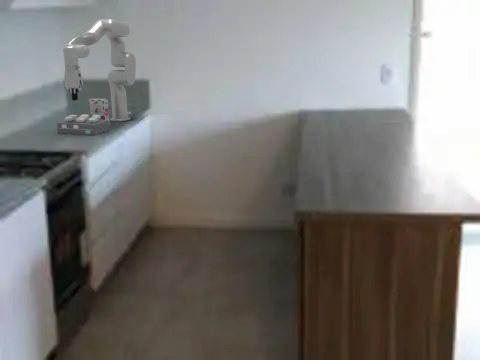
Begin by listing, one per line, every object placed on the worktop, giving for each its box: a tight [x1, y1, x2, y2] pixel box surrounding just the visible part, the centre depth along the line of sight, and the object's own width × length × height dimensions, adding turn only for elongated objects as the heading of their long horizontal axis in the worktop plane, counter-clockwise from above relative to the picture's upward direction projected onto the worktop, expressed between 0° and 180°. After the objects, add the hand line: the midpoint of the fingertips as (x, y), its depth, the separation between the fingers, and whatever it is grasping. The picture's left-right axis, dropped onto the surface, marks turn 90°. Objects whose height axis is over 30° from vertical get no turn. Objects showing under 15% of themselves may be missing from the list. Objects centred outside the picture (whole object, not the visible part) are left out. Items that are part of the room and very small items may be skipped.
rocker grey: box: [63, 114, 79, 121], centre depth 409 cm, size 7×4×2 cm, turn 157°
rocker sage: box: [87, 115, 101, 123], centre depth 403 cm, size 7×4×2 cm, turn 157°
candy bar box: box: [88, 98, 111, 127], centre depth 423 cm, size 11×5×16 cm, turn 62°
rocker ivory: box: [76, 113, 90, 122], centre depth 406 cm, size 7×4×2 cm, turn 157°
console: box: [56, 118, 110, 136], centre depth 407 cm, size 14×26×7 cm, turn 67°
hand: (75, 100), depth 403 cm, fingers closed
